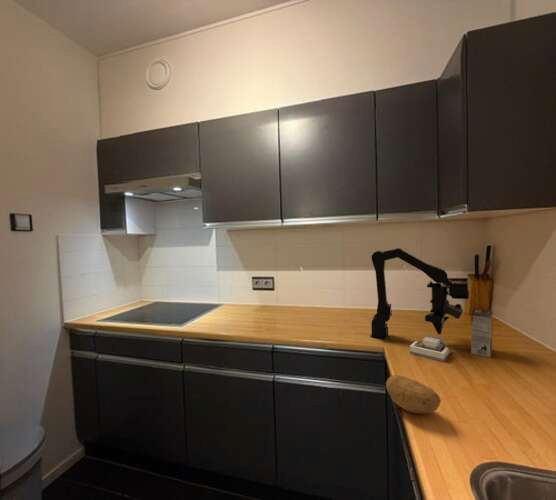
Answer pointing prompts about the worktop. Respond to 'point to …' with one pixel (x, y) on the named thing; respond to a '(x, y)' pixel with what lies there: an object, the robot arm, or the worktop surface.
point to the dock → (429, 352)
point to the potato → (412, 395)
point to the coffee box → (481, 332)
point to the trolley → (433, 343)
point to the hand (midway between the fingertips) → (439, 333)
